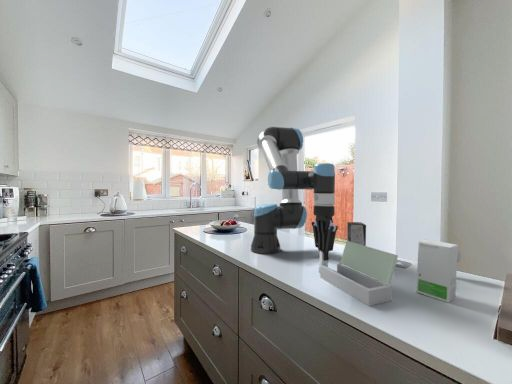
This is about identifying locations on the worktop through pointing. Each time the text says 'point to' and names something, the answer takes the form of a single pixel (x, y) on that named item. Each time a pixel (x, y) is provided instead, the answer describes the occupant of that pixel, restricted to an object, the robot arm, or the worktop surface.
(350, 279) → the white u-shaped channel
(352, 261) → the cover
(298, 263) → the worktop surface
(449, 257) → the skincare box
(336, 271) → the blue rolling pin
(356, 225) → the coffee box
